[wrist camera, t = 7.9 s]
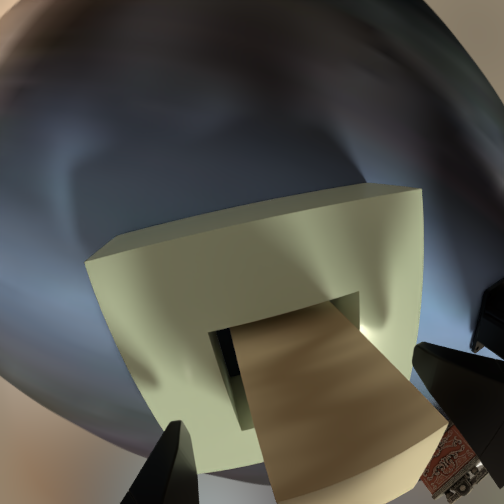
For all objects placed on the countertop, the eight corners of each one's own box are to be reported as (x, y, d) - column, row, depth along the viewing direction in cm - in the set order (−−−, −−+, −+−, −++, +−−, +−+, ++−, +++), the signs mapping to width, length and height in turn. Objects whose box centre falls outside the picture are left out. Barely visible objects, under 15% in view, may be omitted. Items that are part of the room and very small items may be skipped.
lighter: (413, 462, 24) (448, 510, 15) (402, 463, 23) (439, 515, 14) (457, 419, 23) (500, 463, 14) (450, 416, 22) (496, 465, 13)
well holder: (367, 182, 13) (421, 188, 9) (371, 371, 16) (403, 408, 13) (116, 235, 12) (84, 262, 8) (191, 423, 15) (194, 474, 11)
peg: (303, 276, 14) (448, 422, 4) (312, 342, 15) (413, 487, 5) (222, 297, 13) (276, 502, 4) (241, 363, 14) (294, 538, 5)
